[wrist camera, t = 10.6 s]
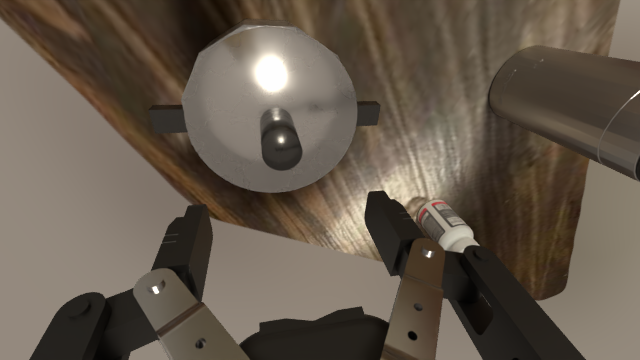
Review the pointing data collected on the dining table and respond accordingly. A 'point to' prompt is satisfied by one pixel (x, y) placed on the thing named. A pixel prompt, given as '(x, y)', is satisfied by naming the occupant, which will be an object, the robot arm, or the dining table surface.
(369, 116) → the pot
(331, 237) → the dining table surface
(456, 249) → the pill bottle
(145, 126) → the dining table surface
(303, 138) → the lid
